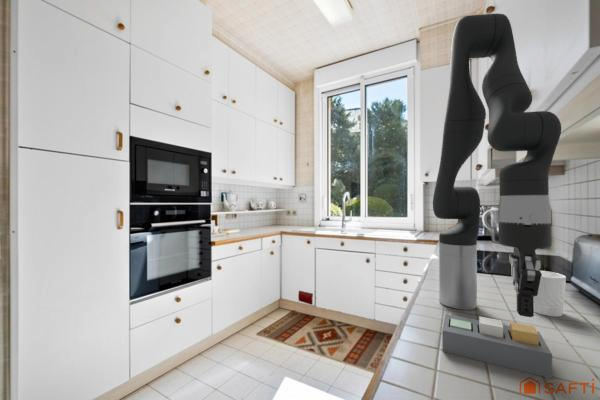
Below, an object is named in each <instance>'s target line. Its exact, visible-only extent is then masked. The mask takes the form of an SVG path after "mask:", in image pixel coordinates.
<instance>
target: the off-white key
mask: <svg viewBox="0 0 600 400" xmlns="http://www.w3.org/2000/svg"><path fill="white" fill-rule="evenodd" d="M478 320H479V330H480V333H481V334H486V335H491V336H496V337H500V338H503V325H504V324H503V323H502V320H500V319H495V318H489V317H485V316H484V317H483V316H478Z"/></svg>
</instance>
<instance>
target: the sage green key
mask: <svg viewBox="0 0 600 400" xmlns="http://www.w3.org/2000/svg"><path fill="white" fill-rule="evenodd" d="M450 327H453V328H457V329H462V330H467V331H471V322H467V321H461V320H456V319H451V322H450Z"/></svg>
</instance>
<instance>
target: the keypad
mask: <svg viewBox="0 0 600 400" xmlns="http://www.w3.org/2000/svg"><path fill="white" fill-rule="evenodd" d="M451 319H456V320H461V321H467V322H471V331H467V330H462V329H457V328H453V327H450V322H451ZM442 325H443V326H442V352H445V353H449V354H453V355H457V356H462V357H465V358H470V359H472V360H476V361H480V362H485V363H488V364H493V365H495V366H496V365H497V366H499V367H504V368H505V367H506V368H508V369H513V370H516V371H521V372H525V373H529V374H533V375H537V376H539V377H545V378H549V379H553V354H552V353H553V352H551V350H550V348H549V346H548V345H547V343H546V340H544V338H543V335H542V334H541V332H540V331H538V330H536V331H537V332H538V334H539V345H534V344H529V343H524V342H519V341H515V340H512V337H511V334H510V325H505V324H502V325H503V338H500V337H496V336H491V335H486V334H481V333H480V330H479V319H473V318H469V317H464V316H463V317H462V316H457V315H453V314H447V313H445V315H444V319H443V324H442Z"/></svg>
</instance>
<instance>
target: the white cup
mask: <svg viewBox="0 0 600 400" xmlns="http://www.w3.org/2000/svg"><path fill="white" fill-rule="evenodd" d="M539 271H540V272H541V273H542V276H541V279H540V284H539V289H538V294H537V296H535V297H533V307H534V313H535V314H539V315H542V316H547V317H562V316H564V305H565V297H566V279H567V276H566V275H564V274H562V273H558V272H553V271H548V270H540V269H539Z"/></svg>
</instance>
